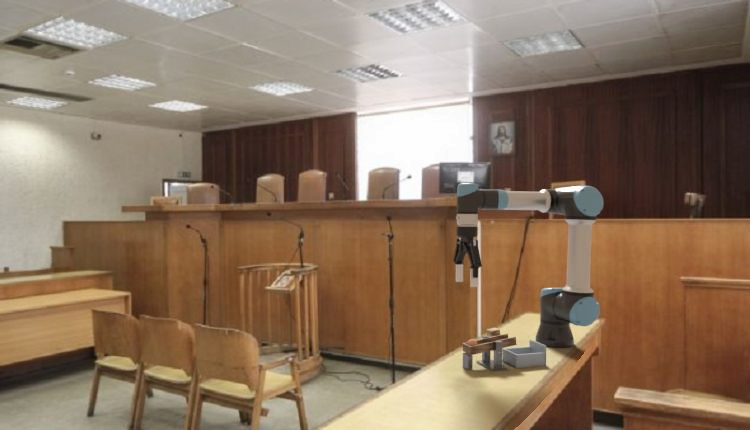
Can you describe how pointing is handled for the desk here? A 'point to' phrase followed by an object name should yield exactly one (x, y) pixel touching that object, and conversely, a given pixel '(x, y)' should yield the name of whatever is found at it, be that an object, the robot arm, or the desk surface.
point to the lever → (489, 342)
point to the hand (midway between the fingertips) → (466, 284)
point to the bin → (526, 355)
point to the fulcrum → (487, 358)
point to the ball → (472, 342)
